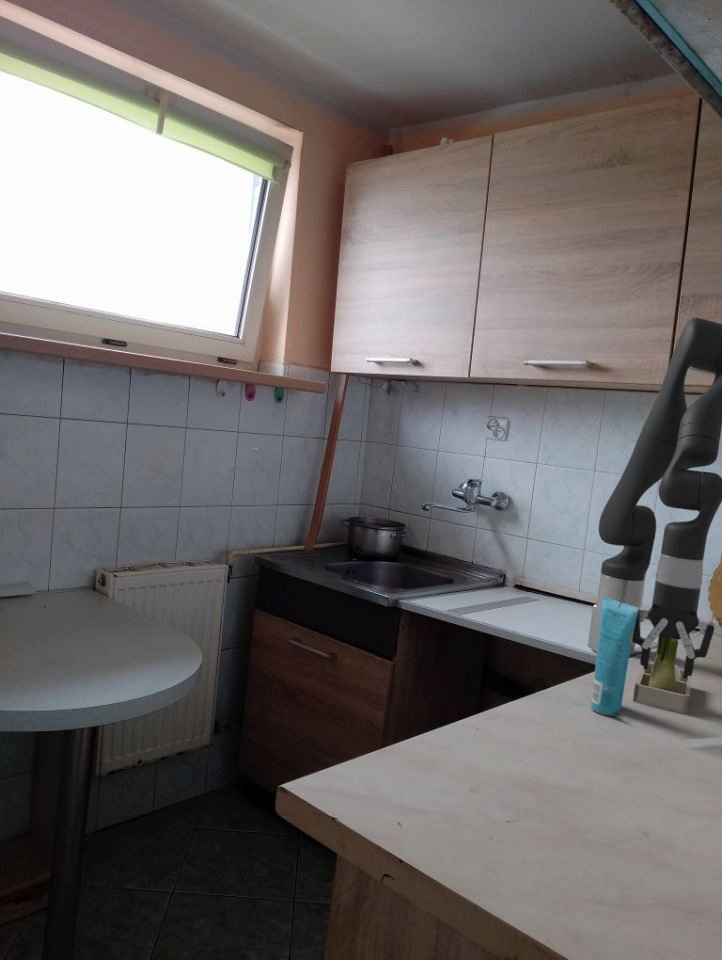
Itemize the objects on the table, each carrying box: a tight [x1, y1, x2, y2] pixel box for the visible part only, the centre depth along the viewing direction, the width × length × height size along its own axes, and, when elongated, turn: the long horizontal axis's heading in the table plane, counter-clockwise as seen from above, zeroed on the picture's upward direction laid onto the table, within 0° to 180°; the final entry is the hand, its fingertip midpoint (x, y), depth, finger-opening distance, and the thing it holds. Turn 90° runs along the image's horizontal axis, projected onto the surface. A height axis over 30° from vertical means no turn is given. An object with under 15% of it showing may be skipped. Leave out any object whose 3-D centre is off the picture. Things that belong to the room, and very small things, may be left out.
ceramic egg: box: [652, 663, 681, 681], centre depth 144 cm, size 5×5×5 cm
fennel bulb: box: [649, 635, 679, 693], centre depth 136 cm, size 6×5×12 cm
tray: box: [632, 662, 694, 715], centre depth 140 cm, size 17×9×4 cm, turn 154°
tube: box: [590, 597, 639, 717], centre depth 130 cm, size 7×5×19 cm, turn 39°
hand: (665, 672), depth 136 cm, fingers open, 6 cm apart
